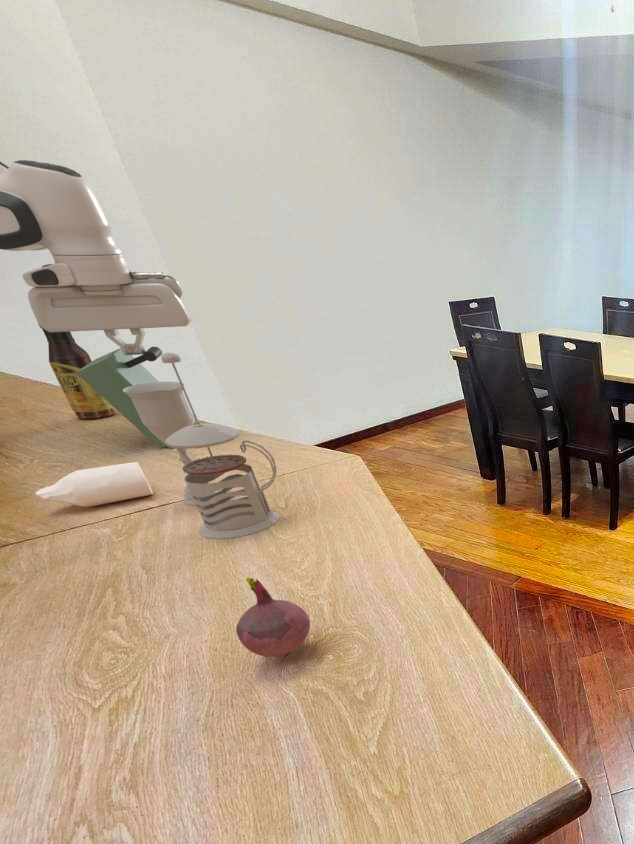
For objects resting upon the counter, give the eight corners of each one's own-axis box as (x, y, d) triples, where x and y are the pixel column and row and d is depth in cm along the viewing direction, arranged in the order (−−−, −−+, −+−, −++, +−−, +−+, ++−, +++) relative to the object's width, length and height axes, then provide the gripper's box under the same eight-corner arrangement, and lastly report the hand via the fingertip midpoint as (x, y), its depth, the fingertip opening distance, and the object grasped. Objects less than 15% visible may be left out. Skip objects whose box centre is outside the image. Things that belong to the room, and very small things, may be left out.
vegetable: (308, 631, 67) (277, 556, 62) (329, 654, 64) (299, 577, 59) (244, 656, 63) (206, 578, 58) (263, 683, 60) (225, 602, 55)
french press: (206, 515, 91) (131, 347, 78) (297, 503, 95) (239, 343, 83) (190, 543, 83) (104, 362, 71) (289, 529, 88) (224, 357, 76)
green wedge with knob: (74, 372, 103) (137, 345, 105) (95, 359, 112) (152, 333, 114) (159, 448, 113) (214, 421, 115) (172, 430, 122) (223, 405, 124)
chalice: (173, 496, 96) (120, 385, 87) (225, 486, 100) (180, 379, 91) (178, 511, 91) (124, 396, 82) (233, 500, 96) (186, 389, 87)
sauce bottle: (69, 418, 126) (16, 320, 116) (102, 410, 131) (55, 316, 122) (92, 421, 125) (41, 322, 115) (125, 413, 130) (79, 318, 120)
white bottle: (47, 507, 91) (27, 473, 88) (150, 487, 98) (135, 456, 96) (47, 520, 87) (26, 485, 84) (155, 499, 95) (139, 466, 92)
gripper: (177, 270, 110) (208, 347, 117) (23, 272, 101) (67, 355, 108) (170, 273, 105) (203, 353, 112) (7, 275, 96) (54, 362, 103)
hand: (135, 354), depth 110 cm, fingers closed
